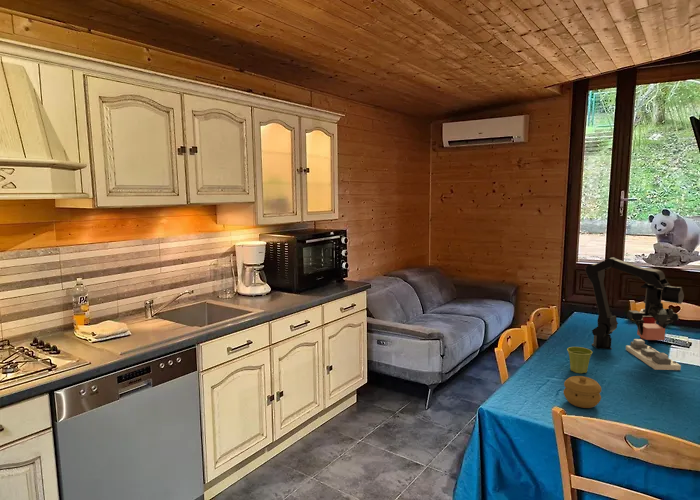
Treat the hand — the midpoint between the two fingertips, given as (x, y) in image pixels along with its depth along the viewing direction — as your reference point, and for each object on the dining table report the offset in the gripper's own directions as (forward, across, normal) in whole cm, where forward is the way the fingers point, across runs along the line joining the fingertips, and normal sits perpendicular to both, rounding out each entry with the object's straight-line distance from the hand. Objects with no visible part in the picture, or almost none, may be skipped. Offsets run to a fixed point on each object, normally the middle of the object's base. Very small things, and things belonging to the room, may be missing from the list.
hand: (650, 334), depth 207 cm
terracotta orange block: (+1, 0, 0) cm, 1 cm away
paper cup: (+11, +14, +30) cm, 35 cm away
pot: (+11, -46, -46) cm, 66 cm away
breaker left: (+7, 0, +9) cm, 12 cm away
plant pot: (+11, -35, -15) cm, 40 cm away
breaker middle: (+9, 0, 0) cm, 9 cm away
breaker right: (+7, 0, -9) cm, 12 cm away
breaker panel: (+11, +1, 0) cm, 11 cm away
